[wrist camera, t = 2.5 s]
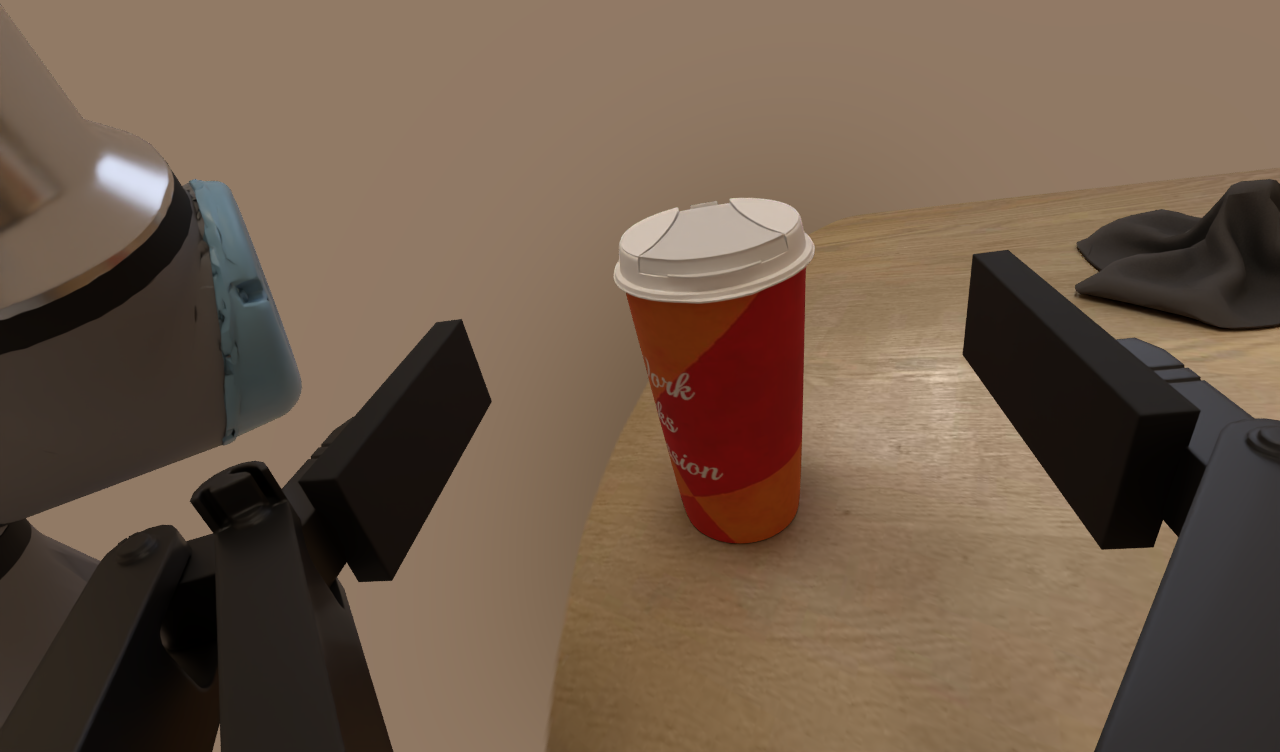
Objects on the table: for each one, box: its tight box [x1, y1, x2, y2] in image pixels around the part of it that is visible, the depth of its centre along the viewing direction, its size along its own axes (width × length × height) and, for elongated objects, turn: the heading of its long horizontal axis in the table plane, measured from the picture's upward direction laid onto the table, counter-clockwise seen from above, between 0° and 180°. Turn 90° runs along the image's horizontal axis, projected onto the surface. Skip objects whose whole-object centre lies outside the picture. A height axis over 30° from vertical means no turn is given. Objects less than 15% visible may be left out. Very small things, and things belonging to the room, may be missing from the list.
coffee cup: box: [614, 198, 815, 543], centre depth 28 cm, size 8×8×15 cm
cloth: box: [1075, 179, 1280, 328], centre depth 41 cm, size 22×19×6 cm
